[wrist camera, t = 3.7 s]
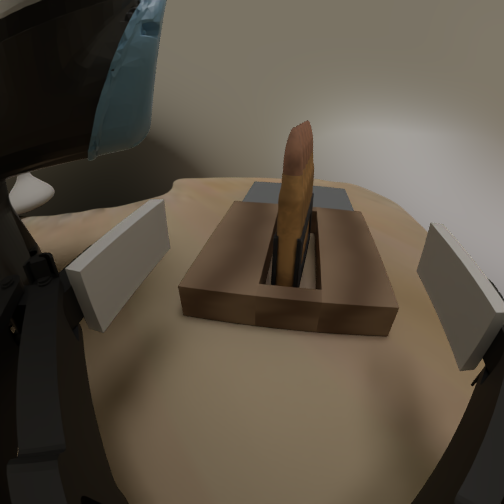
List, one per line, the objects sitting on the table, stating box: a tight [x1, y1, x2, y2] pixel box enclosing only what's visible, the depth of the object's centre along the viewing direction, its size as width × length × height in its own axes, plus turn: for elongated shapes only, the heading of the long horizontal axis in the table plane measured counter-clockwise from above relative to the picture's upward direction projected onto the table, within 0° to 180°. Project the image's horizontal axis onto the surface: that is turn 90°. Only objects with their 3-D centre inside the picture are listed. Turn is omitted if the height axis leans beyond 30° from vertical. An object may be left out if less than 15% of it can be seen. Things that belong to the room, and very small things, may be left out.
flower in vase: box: [9, 172, 55, 215], centre depth 34 cm, size 13×11×25 cm
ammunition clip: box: [271, 120, 314, 288], centre depth 22 cm, size 11×2×12 cm, turn 165°
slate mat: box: [242, 182, 354, 211], centre depth 38 cm, size 14×13×1 cm
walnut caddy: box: [178, 201, 399, 336], centre depth 24 cm, size 14×16×2 cm
